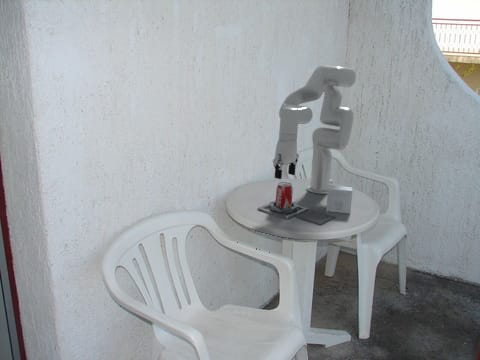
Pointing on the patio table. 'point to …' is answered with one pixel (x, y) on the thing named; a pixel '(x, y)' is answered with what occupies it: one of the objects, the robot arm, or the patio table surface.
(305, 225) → the patio table surface
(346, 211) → the skincare box
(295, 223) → the patio table surface
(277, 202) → the soda can
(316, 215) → the mat
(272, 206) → the collar
